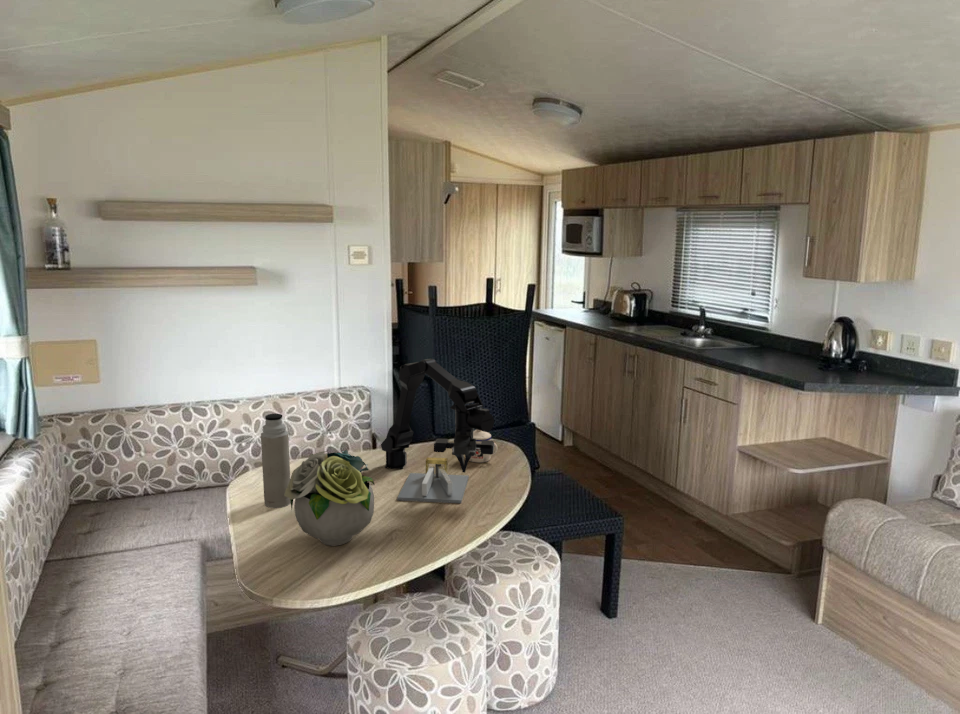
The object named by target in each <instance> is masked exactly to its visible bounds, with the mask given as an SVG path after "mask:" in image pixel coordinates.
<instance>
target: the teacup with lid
mask: <svg viewBox="0 0 960 714" xmlns="http://www.w3.org/2000/svg"><path fill="white" fill-rule="evenodd" d="M473 439H476V443H478V444H481V442H482V440H489V441H492V434H491V433H490V432H484V431H480V430H477V429H474V430H473ZM498 448H499V447H498V445H497V443H496V442H494V452H493V454H482V453H481V450H476V453H475V456H471V458H470V460H469V462H471V463H487V462H489V461H490V460H491V456H494V455H495V454H496V453H497V452H498Z"/></svg>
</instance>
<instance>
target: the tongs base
mask: <svg viewBox="0 0 960 714" xmlns="http://www.w3.org/2000/svg"><path fill="white" fill-rule="evenodd" d="M434 465H435V466H429V469H428V472H427V474H426V473H419V472H418V473H417V472H410V473H409V475H408V477H407V478H406V480H405V482H404V484H403V486H402V488H401V489H400V492H399V493H398V495H397V501H404V502H405V501H406V502H422V503H423V502H424V503H425V502H426V503H431V502H432V503H446V504H447V503H448V504H449V503H450V504H451V503H452V504H462V502H463V499H464V494H465V493H466V491H465V490H466V488H467V485H468V482H469V475H468V474H467V475H465V474H448V476H449V478H450V480H451V481H452V483H453V495H450V496H448V495H447V493H446V491H445V490H444V488H443V486H442V484H441V482H440V480H439V478H438V466H442V464H434Z"/></svg>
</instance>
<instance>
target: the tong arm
mask: <svg viewBox="0 0 960 714" xmlns="http://www.w3.org/2000/svg"><path fill="white" fill-rule="evenodd" d="M448 475H449V474H448ZM448 475H447V473H446V471H445V469H444V466H442V465H441V466H438V478H439V480H440V482H441V484H442V486H443V488H444V490H445V491H446V493H447V495H448V496H450V495H453V483H452V481H451V480H450V478H449V476H448Z"/></svg>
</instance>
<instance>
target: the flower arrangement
mask: <svg viewBox="0 0 960 714" xmlns="http://www.w3.org/2000/svg"><path fill="white" fill-rule="evenodd" d="M327 451H328V450H324V451H319V452H318V451H317V452H316V453H311V454H310V455H309V457H308V458H306V460H302V461H301V464H300V465H299V466H298V467H296V468H295V469H294V470H293V471H292V473H291V474H290V481H289V484H288V486H287V488H286V490H285V494H284V496H286V497H289V498H290V502H291V503H290V509H291V510H290V511H291V512H292V511H293V507H294V517H295V519H296V522H297V523H298V525H299V527H300V529H301V530H302V532H304V533H306V534H307V535H309V536H311V537H313V538H315V539H318V540H319V541H320V542H321V543H322V544H323V545H326V546H331V547H332V546H333V547H334V546H335V547H337V546H341V545H344V544H347V543H349V542H350V541H351V540H353V537H354V536H356V535H358V534H360V533H361V532H362V531H363V530H364V529H366V527H368V525H369V524H371V522H372V519H373V516H374V512H375V494H374V490H373V486H375V481H374V479H373V478H372V477H369V476H365V475H362V472H367V471H369V470H370V469H369V467H368V464H366V462H365V461H363V459H362V458H361V456H359V455H352V454H349V451H348V450H347V449H345V450H344V451H343V450H341V452H327ZM364 466H365V467H364ZM362 467H363V468H362ZM361 468H362V469H361ZM369 482H370V483H371V484H372V485H373V486H371V484H370V483H369ZM294 500H295V501H294ZM293 505H294V506H293Z"/></svg>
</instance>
